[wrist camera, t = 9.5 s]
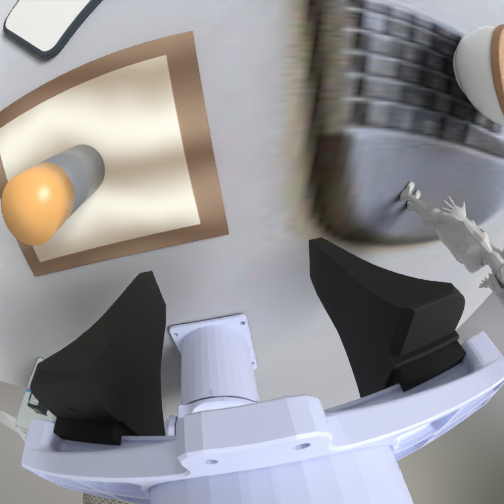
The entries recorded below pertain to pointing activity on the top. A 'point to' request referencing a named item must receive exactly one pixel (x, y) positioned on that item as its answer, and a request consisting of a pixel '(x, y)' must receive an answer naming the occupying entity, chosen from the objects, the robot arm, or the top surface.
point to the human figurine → (461, 238)
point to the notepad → (123, 153)
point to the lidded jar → (482, 70)
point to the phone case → (47, 23)
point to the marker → (51, 193)
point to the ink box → (31, 410)
